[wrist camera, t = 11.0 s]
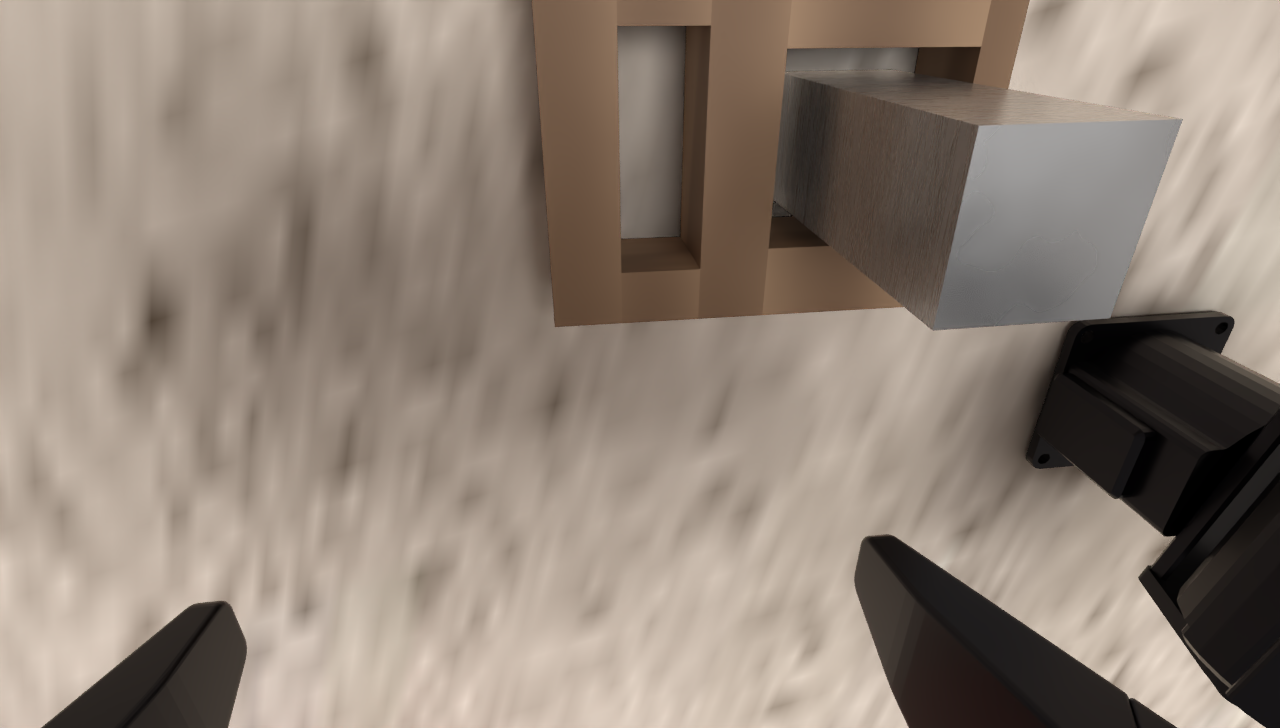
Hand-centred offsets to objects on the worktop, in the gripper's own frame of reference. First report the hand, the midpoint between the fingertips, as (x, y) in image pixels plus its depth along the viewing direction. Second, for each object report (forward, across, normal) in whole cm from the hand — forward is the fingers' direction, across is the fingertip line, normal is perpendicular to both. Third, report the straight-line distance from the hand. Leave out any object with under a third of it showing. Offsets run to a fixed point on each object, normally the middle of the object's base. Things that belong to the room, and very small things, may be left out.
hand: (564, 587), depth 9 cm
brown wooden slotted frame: (+13, -6, -4) cm, 15 cm away
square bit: (+13, -8, -4) cm, 16 cm away
